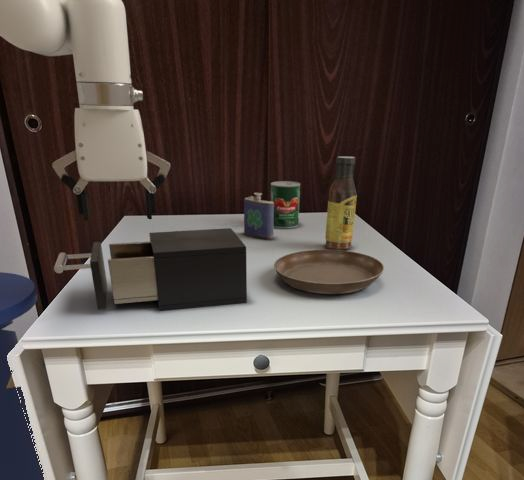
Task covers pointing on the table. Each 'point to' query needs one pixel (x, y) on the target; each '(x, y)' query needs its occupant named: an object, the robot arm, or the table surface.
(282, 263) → the plant saucer
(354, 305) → the table surface
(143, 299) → the drawer
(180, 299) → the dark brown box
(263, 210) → the flask
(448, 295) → the table surface
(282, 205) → the canned tomato
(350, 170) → the sauce bottle
